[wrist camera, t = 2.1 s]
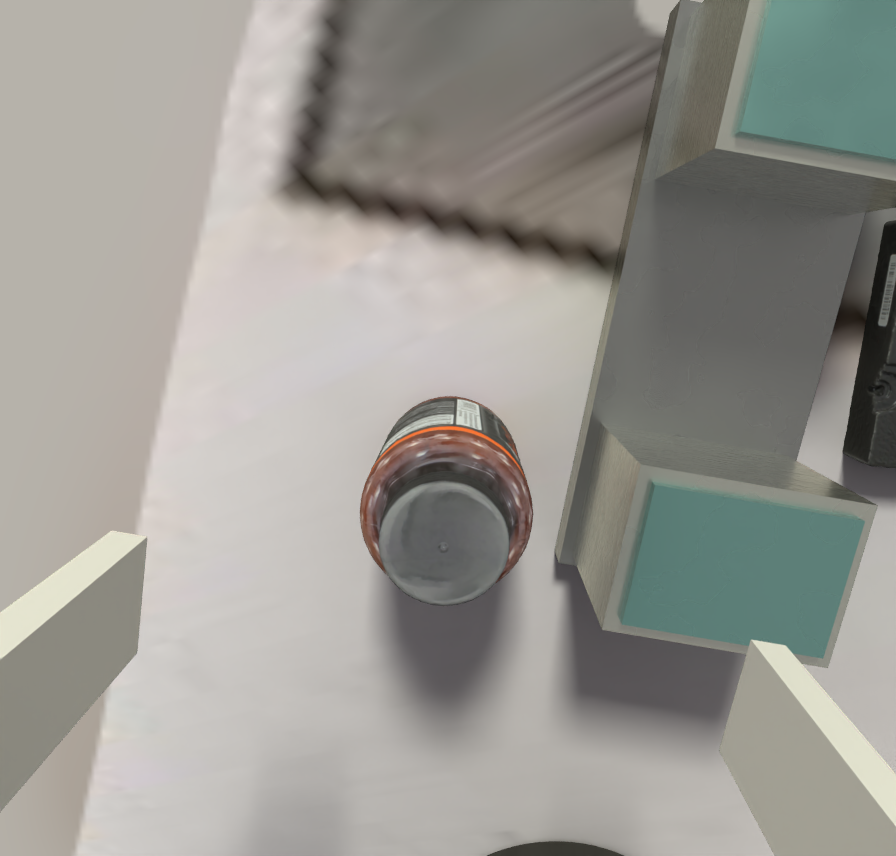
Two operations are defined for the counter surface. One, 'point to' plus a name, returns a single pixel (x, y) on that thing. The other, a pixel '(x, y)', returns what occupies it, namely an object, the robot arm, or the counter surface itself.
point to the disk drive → (877, 368)
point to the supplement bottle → (447, 502)
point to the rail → (734, 330)
